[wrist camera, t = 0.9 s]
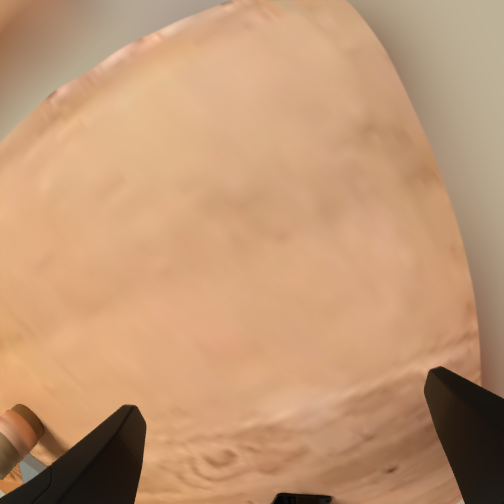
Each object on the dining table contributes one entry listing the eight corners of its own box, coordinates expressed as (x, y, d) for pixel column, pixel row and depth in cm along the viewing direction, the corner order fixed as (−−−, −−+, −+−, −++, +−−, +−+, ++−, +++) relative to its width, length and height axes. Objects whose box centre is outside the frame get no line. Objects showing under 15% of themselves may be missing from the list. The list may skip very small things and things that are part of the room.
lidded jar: (47, 443, 26) (9, 488, 16) (17, 424, 26) (-22, 463, 16) (42, 415, 25) (-4, 461, 15) (11, 395, 25) (-36, 434, 15)
